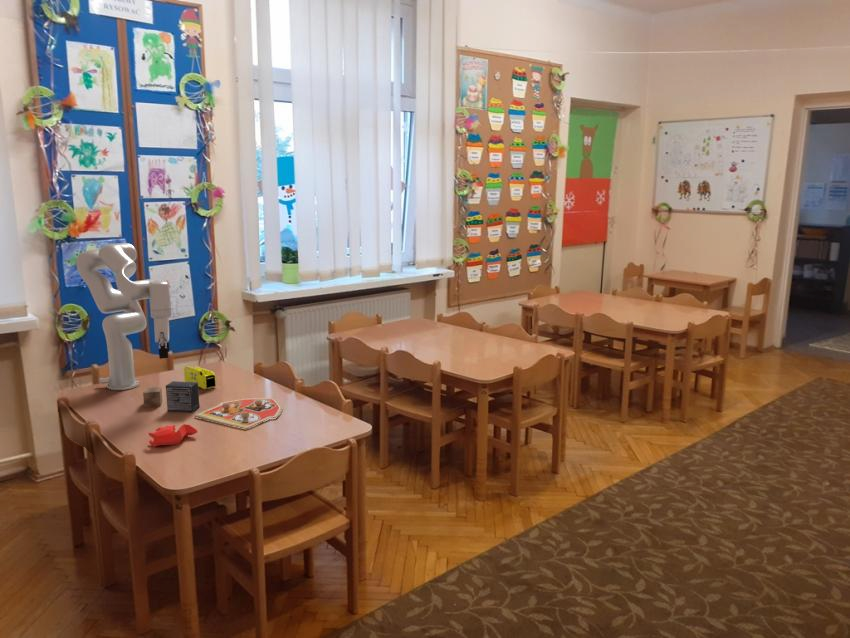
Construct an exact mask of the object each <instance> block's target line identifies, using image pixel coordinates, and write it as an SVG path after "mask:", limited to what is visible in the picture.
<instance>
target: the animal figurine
mask: <svg viewBox="0 0 850 638" xmlns="http://www.w3.org/2000/svg"><path fill="white" fill-rule="evenodd" d="M176 427H177V425H176V424H172V425H166V426H162V427H158V428H156V429H155V431H153V432H148V436H149V437H151V438H152V439H153V440H151V439H149V440H148V441H149V444H150V445H151V446H153V448H155V447H159V446H160V447H161V446H170V445H171V446H172V445H173V446H174V445H178V444H177V443H179V442H180V443H181V442H182V440H183V439H184V438H186V437H185V436H187V437H189V436H188V435H190V436H192V435H195V434H197V433H198V432H199V431H198V429H197V428H195V427H193V426H192V425H189V424H186V423H185V424H182V425H180V426H179V428H178V429H177V431H176ZM183 437H184V438H183ZM180 443H179V444H180Z"/></svg>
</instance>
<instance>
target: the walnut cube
mask: <svg viewBox="0 0 850 638" xmlns="http://www.w3.org/2000/svg"><path fill="white" fill-rule="evenodd" d="M142 394H143V395H142V397H143V407H144V408H152V407H161V406H162V404H163V393H162V386H159V387H158V386H157V387H145V388H144V390H143V393H142Z"/></svg>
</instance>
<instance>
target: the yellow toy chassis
mask: <svg viewBox="0 0 850 638" xmlns="http://www.w3.org/2000/svg"><path fill="white" fill-rule="evenodd" d="M183 372H184V382H198V388H202V390H211V389H213V388H214V387H217V379H216V374H215V372H214V371H212V370H208V369H206V368H203V367H200V366H194V367H191V366H189V365H185V367H183Z"/></svg>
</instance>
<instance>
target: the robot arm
mask: <svg viewBox="0 0 850 638" xmlns="http://www.w3.org/2000/svg"><path fill="white" fill-rule="evenodd" d="M137 252H138V251H137V250H136V248H135V246H134V245H133V244H131V243H128V242H120V243H109V244H106V245H105V244H104V245H103V246H101V247H100V248H98V249H88V250H85V251H82V252H80V253H79V254H77V257H76V269H77V273H79V275H80V277H81V279H82V280H83V282H84V283H85V285H86V286H87V287H88V289H89V291H90V293H91V296H92V298H93V300H94V302H95V305H96V306H97V307H96V308H97V309H98V311H100V312H101V314H110V315H107V316H105V318H104V319H103V320H102V323H101V325H102V330H103V333H104V336H105V340H106V346H107V349H106V350H107V356H108V357H107V358H108V366H109V367H108V368H109V376H107V377H99V378H98V379H99V380H98V381H99V383H100V384H106V388H107V389H108V390H110V389H111V391H125V390H132V389H134V388H137V387H138V386H139V385H140V381H139V380H137V379H136V376H135V375H136V374H135V365H134V364H135V363H134V354H133V353H134V352H133V344H132V342H131V341H130V340H129V339H128V338H127V337H126V336H129V335H131V334H132V335H133V334H137V333H141V332H143V331H144V330H145V329H146V327H147V325H148V324H147V322H148V321H147V317H146V316H145V315H146V314H145V313H144V311H143V309H142V307H141V304H140V302H139V301H141V300H146V299H149V308H150V318H152V319H153V326H154V329H153V330H154V342H155V343H156V344H157V343H158V355H159V359H162V360H163V359H168V358H169V353H170V342H169V341H170V320H169V318H171V317H172V307H171V306H172V305H171V291H170V284H169V283H168V282H167V281H163V280H158V279H156V278H147V279H142V280H135V281H133V280H130V278H131V277H132V276H133V275H135V274H136V271H137V263H136V262H135V261H136V260H137V258H138V253H137ZM106 269H107V270H108V269H110V270H111V271H112V272H113V273H114V274H115V284H116V288H117V289H115V288H114V287H113V285H112V283H111V281H110V280H109V278H108V277H107V276H106V275H105V274H103V273H101V272H100V271H99V270H106Z"/></svg>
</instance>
